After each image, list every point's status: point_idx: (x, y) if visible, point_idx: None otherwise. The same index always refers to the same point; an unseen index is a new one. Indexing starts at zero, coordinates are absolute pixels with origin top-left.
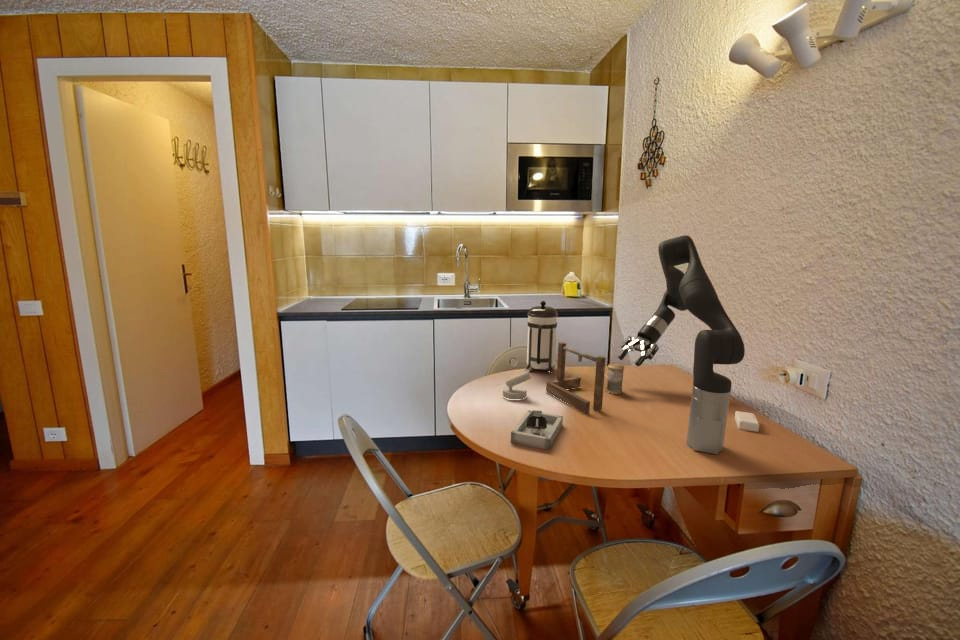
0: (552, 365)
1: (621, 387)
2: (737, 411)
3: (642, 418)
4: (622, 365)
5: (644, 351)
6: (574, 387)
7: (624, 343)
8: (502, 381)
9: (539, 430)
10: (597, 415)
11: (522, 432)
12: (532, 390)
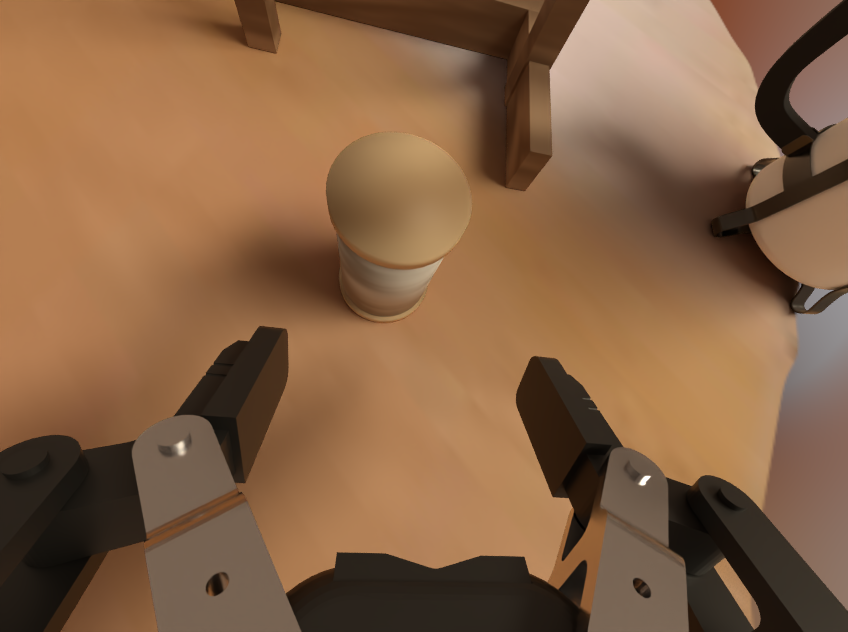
0: (767, 234)
1: (342, 276)
2: None
3: (53, 98)
4: (385, 256)
5: (146, 518)
6: (509, 153)
7: (770, 569)
8: (677, 30)
9: None
10: (228, 2)
11: None
12: None
